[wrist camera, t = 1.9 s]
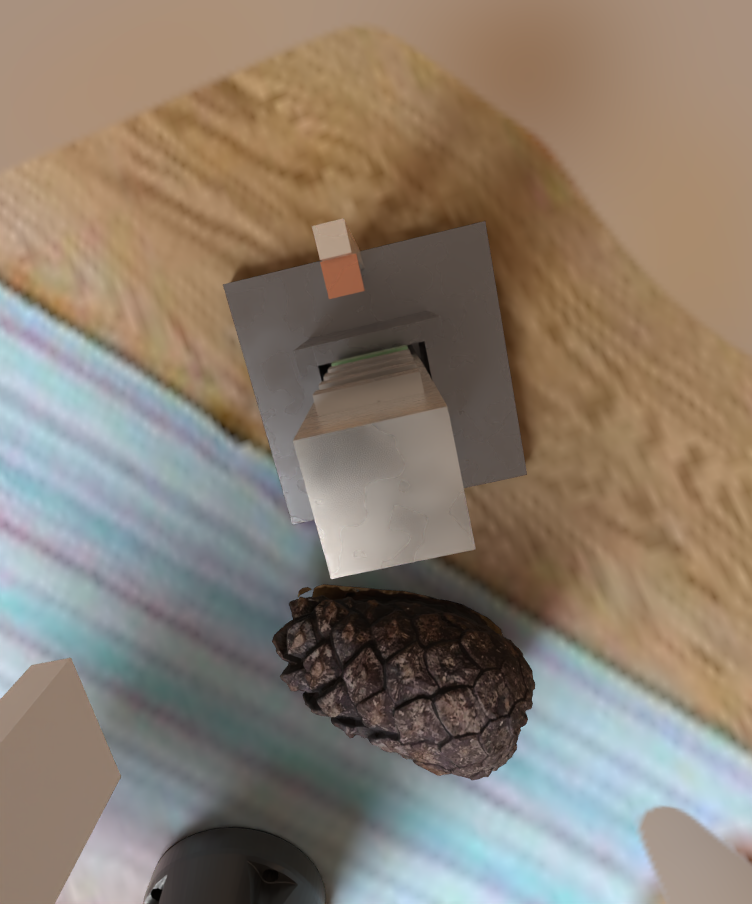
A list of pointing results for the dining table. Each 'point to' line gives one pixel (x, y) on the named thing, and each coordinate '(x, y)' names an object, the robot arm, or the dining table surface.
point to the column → (382, 465)
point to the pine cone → (409, 675)
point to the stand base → (383, 340)
